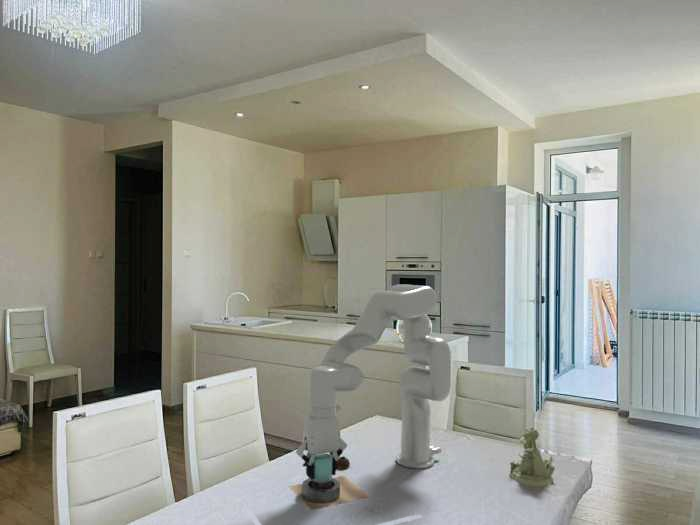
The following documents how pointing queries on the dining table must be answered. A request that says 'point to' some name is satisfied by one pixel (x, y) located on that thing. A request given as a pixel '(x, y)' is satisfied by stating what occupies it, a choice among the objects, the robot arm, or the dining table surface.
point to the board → (346, 493)
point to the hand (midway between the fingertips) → (321, 475)
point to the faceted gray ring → (321, 491)
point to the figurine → (532, 463)
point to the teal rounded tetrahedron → (322, 468)
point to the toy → (340, 463)
